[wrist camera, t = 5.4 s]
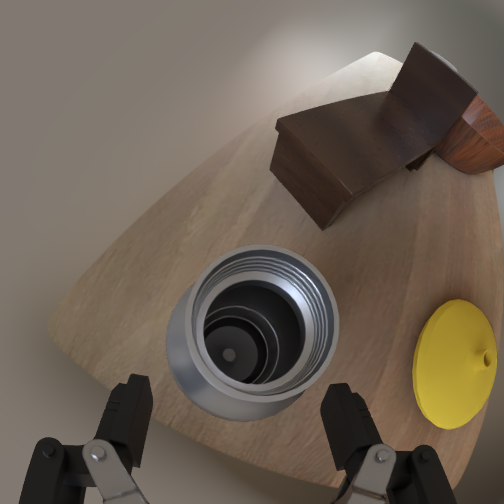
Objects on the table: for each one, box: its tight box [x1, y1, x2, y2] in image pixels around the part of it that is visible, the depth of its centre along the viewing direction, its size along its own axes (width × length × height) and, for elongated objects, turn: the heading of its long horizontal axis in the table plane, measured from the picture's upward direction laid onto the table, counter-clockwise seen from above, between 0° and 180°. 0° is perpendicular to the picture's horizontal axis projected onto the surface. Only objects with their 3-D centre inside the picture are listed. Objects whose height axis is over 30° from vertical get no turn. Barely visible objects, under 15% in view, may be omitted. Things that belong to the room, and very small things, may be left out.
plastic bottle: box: [166, 244, 339, 422], centre depth 15 cm, size 6×7×20 cm
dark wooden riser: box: [270, 42, 478, 231], centre depth 28 cm, size 24×11×18 cm, turn 125°
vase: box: [412, 299, 497, 429], centre depth 22 cm, size 16×16×7 cm
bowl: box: [434, 95, 504, 174], centre depth 39 cm, size 25×25×11 cm
